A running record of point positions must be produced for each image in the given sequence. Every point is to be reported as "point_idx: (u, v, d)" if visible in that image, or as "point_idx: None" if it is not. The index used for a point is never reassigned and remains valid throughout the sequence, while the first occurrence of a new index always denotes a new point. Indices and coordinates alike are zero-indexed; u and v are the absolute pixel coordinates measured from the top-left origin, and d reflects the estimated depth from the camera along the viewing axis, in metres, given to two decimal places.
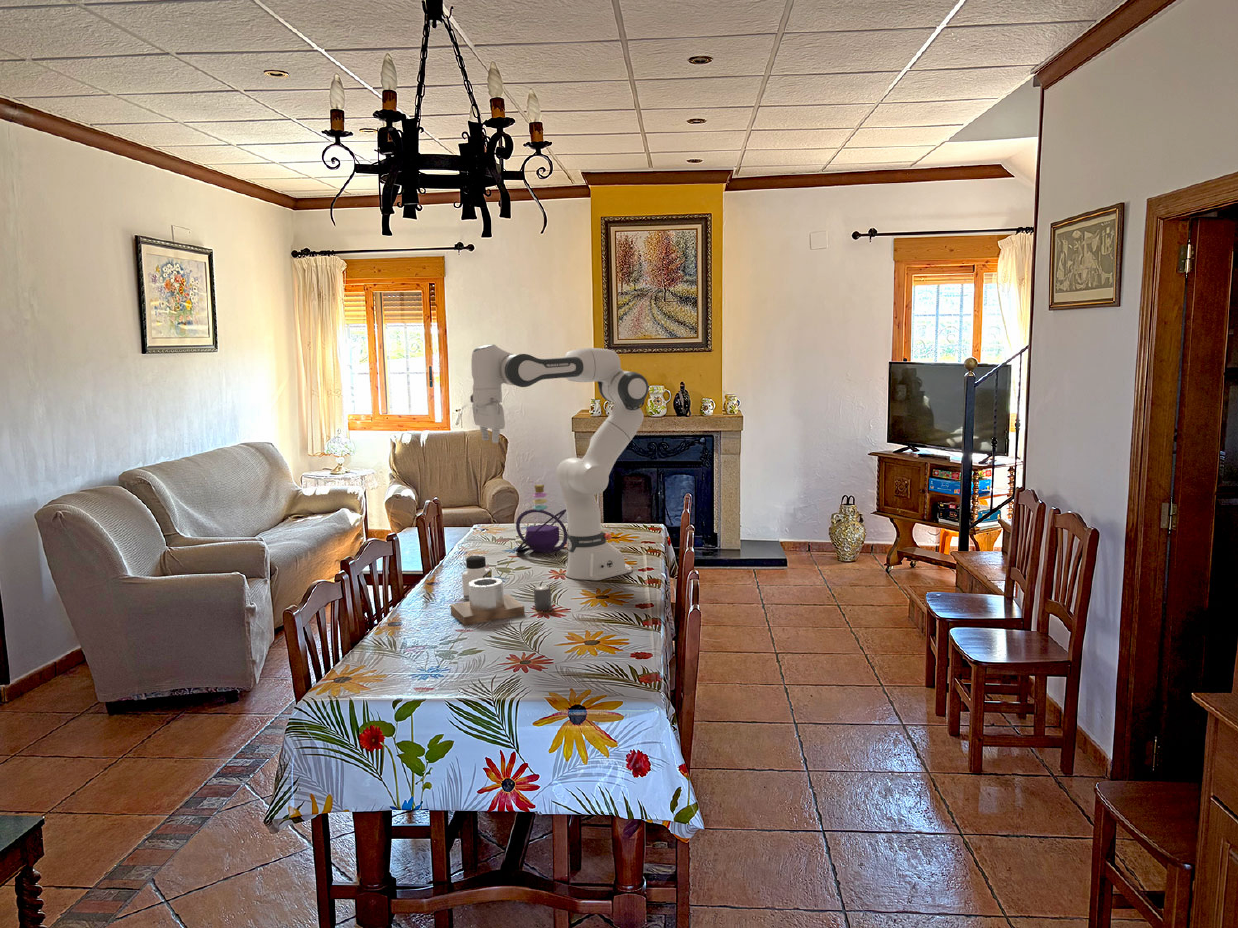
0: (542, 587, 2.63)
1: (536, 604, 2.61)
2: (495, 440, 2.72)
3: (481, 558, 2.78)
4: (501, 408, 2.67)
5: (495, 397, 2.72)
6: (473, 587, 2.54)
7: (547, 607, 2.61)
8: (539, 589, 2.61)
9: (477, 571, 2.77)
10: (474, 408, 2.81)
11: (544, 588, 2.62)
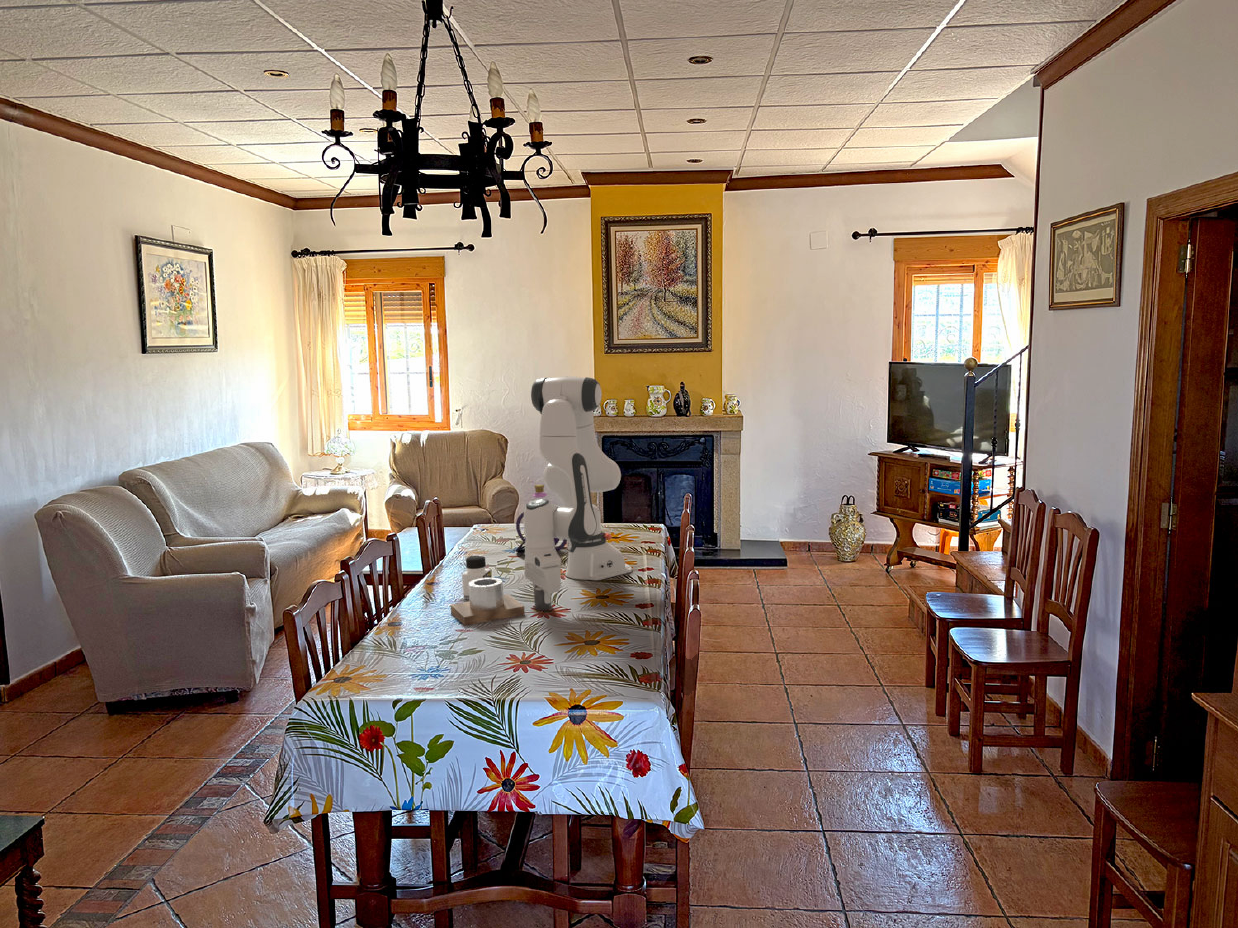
0: None
1: (536, 604, 2.61)
2: None
3: (481, 558, 2.78)
4: None
5: None
6: (473, 587, 2.54)
7: (547, 607, 2.61)
8: (539, 589, 2.61)
9: (477, 571, 2.77)
10: None
11: None
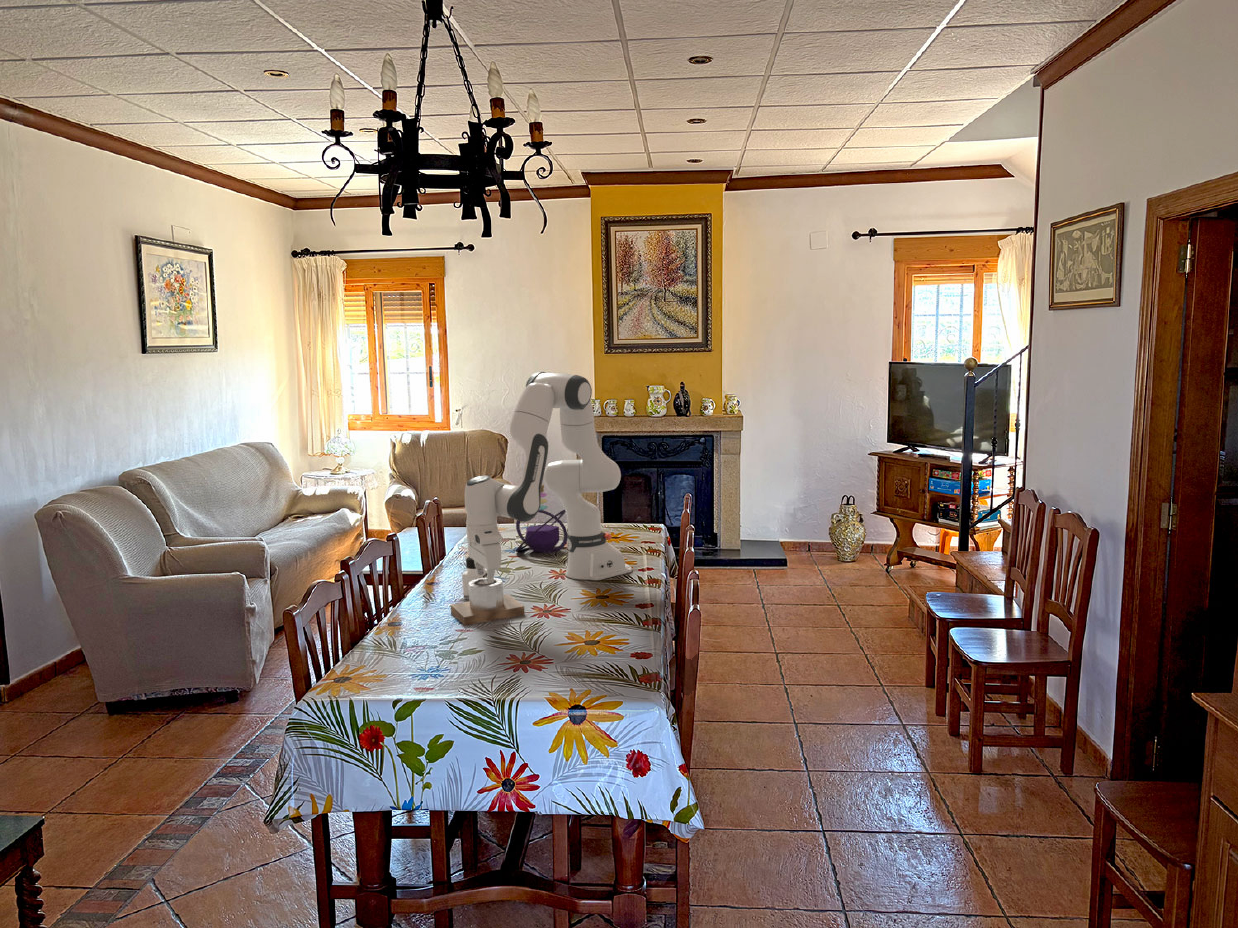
0: (486, 581, 2.59)
1: None
2: None
3: None
4: None
5: None
6: (473, 587, 2.54)
7: None
8: (482, 583, 2.57)
9: None
10: None
11: (487, 582, 2.58)
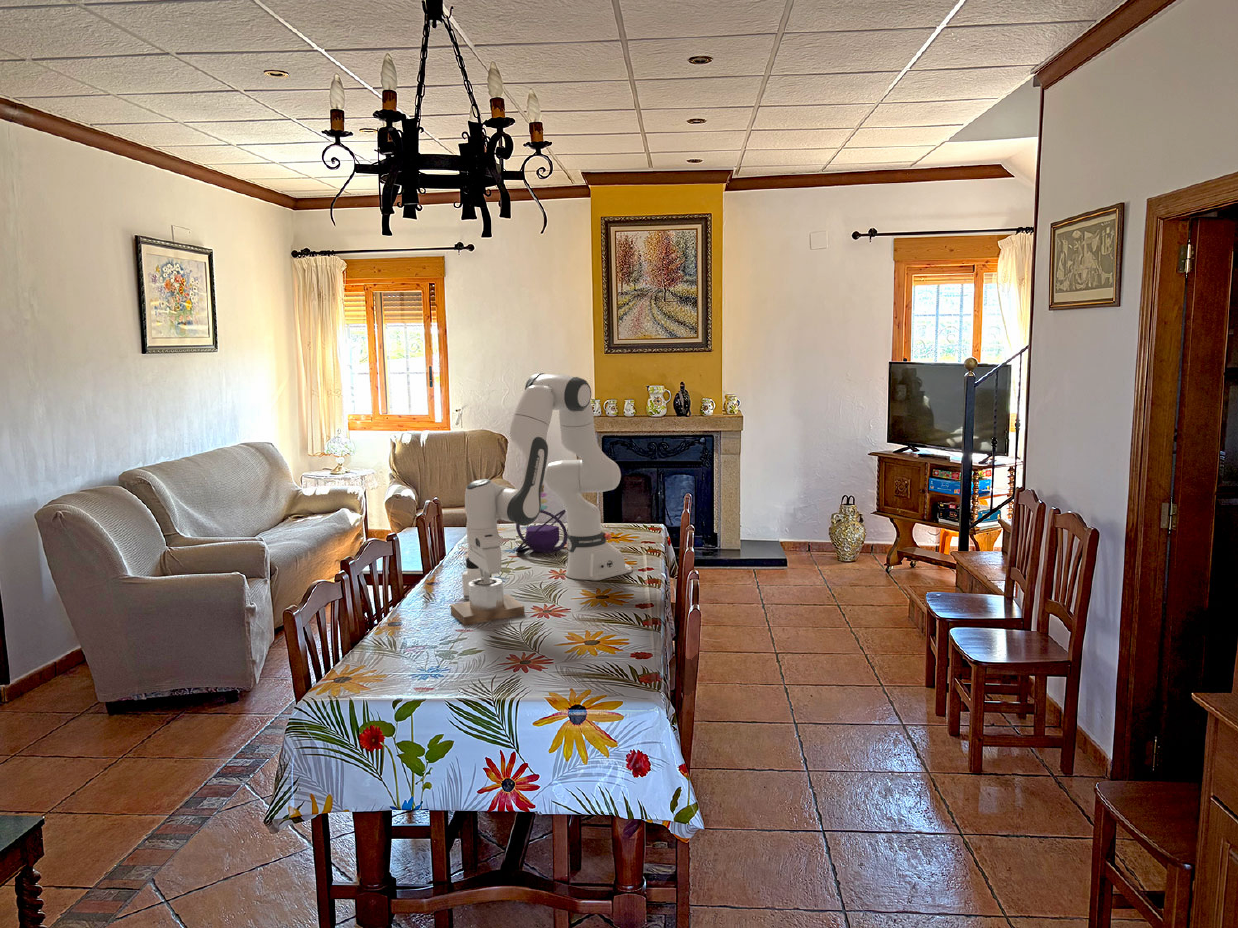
0: None
1: None
2: None
3: None
4: None
5: None
6: (473, 587, 2.54)
7: None
8: (482, 583, 2.57)
9: (477, 571, 2.77)
10: None
11: None
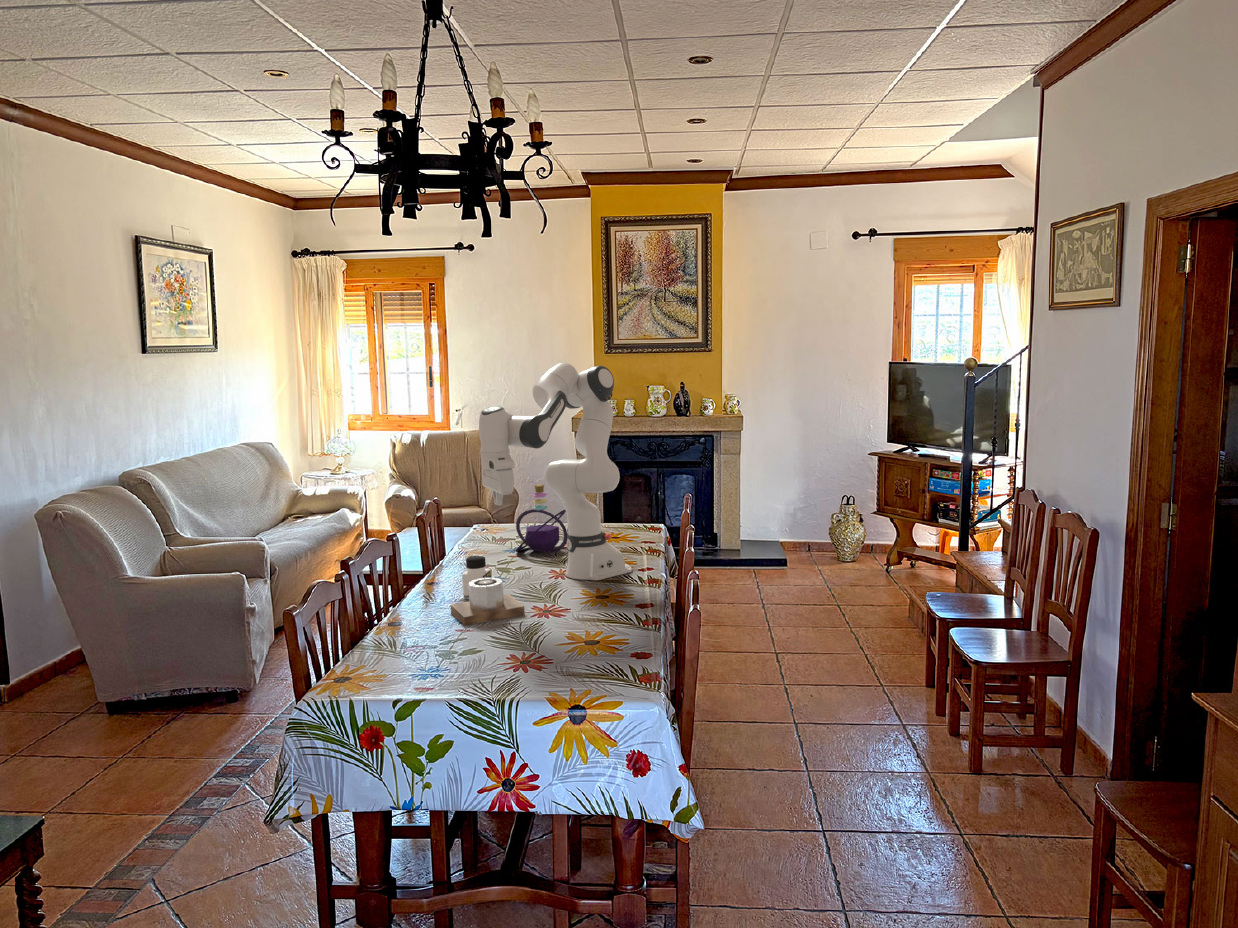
0: (486, 581, 2.59)
1: None
2: None
3: (481, 558, 2.78)
4: None
5: None
6: (473, 587, 2.54)
7: None
8: (482, 583, 2.57)
9: (477, 571, 2.77)
10: None
11: (487, 582, 2.58)
